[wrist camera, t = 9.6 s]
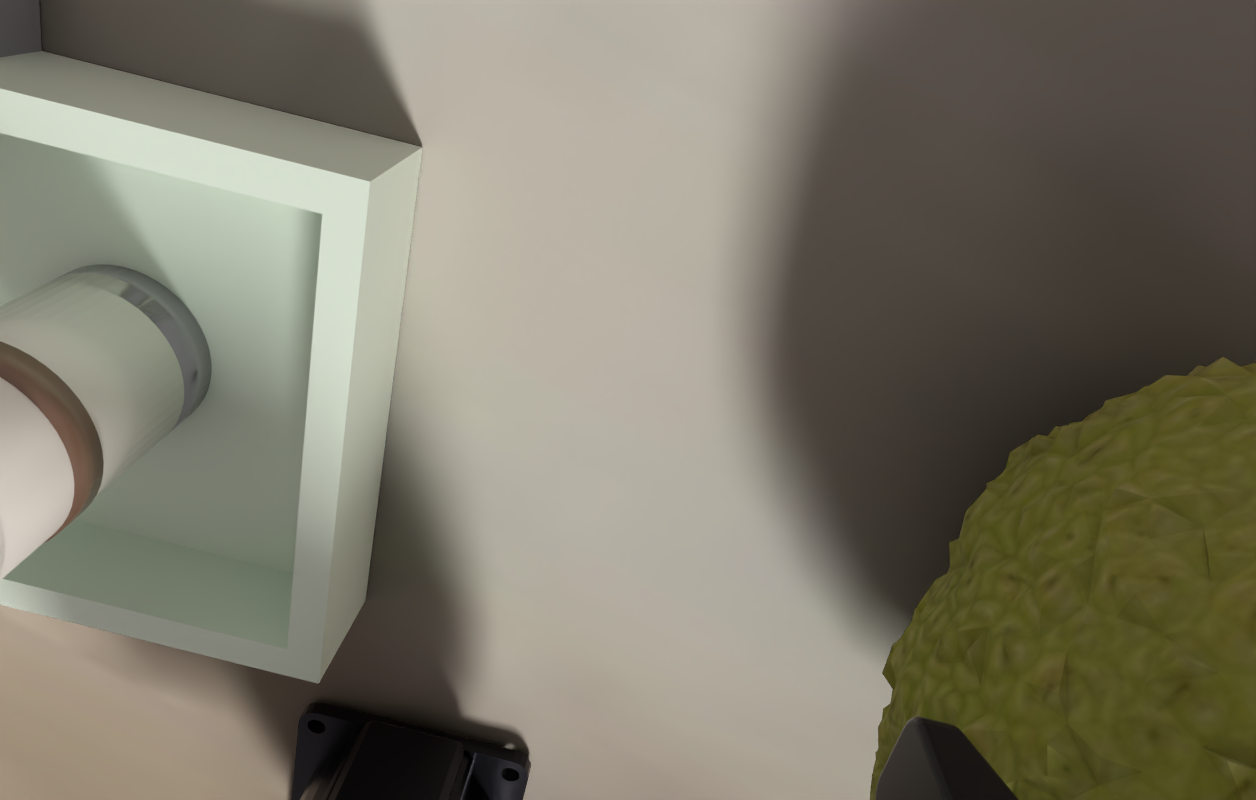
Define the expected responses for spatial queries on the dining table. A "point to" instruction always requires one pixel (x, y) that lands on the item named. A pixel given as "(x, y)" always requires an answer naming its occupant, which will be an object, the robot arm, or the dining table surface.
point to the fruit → (1104, 605)
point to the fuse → (87, 393)
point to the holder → (19, 27)
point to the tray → (219, 353)
